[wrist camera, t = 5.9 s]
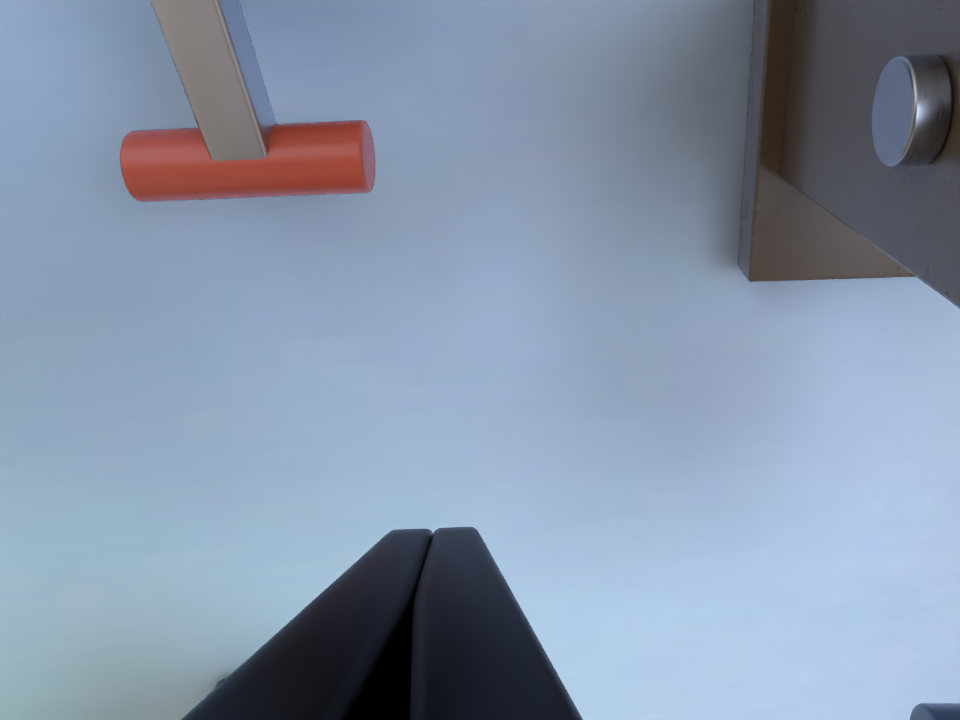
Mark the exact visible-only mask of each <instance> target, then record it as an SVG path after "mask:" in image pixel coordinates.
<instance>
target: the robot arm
mask: <svg viewBox="0 0 960 720" xmlns="http://www.w3.org/2000/svg"><path fill="white" fill-rule="evenodd" d="M181 720H583V719H582V717H581V716H580V714H579V712H578V710H577V708H576V707H575V705H574V703H573V701H572V699H571V698H570V696H569V694H568V692H567V690H566V689H565V687H564V685H563V683H562V681H561V680H560V678H559V676H558V674H557V672H556V671H555V669H554V667H553V665H552V663H551V662H550V660H549V658H548V656H547V654H546V653H545V651H544V649H543V647H542V645H541V644H540V642H539V640H538V638H537V636H536V635H535V633H534V631H533V629H532V627H531V626H530V624H529V622H528V620H527V618H526V617H525V615H524V613H523V611H522V609H521V608H520V606H519V604H518V602H517V600H516V599H515V597H514V595H513V593H512V591H511V590H510V588H509V586H508V584H507V582H506V581H505V579H504V577H503V575H502V574H501V572H500V570H499V568H498V566H497V565H496V563H495V561H494V559H493V557H492V556H491V554H490V552H489V550H488V548H487V547H486V545H485V543H484V541H483V539H482V538H481V536H480V534H479V532H478V531H477V530H476V529H475V528H473V527H454V528H439V529H437V530H436V531H435V532H434V534H433V533H432V531H431V530H429V529H402V530H393V531H391V532H389V533H388V534H387V535H385V536H384V537H383V538H382V539H381V540H380V541H379V542H378V543H377V544H375V545H374V546H373V547H372V548H371V549H370V550H369V551H368V552H367V553H365V554H364V555H363V556H362V557H361V558H360V559H359V560H358V561H357V562H355V563H354V564H353V565H352V566H351V567H350V568H349V569H348V570H347V571H346V572H344V573H343V574H342V575H341V576H340V577H339V578H338V579H337V580H336V581H334V582H333V583H332V584H331V585H330V586H329V587H328V588H327V589H326V590H324V591H323V592H322V593H321V594H320V595H319V596H318V597H317V598H316V599H314V600H313V601H312V602H311V603H310V604H309V605H308V606H307V607H306V608H304V609H303V610H302V611H301V612H300V613H299V614H298V615H297V616H296V617H294V618H293V619H292V620H291V621H290V622H289V623H288V624H287V625H286V626H285V627H283V628H282V629H281V630H280V631H279V632H278V633H277V634H276V635H275V636H273V637H272V638H271V639H270V640H269V641H268V642H267V643H266V644H265V645H263V646H262V647H261V648H260V649H259V650H258V651H257V652H256V653H255V654H253V655H252V656H251V657H250V658H249V659H248V660H247V661H246V662H245V663H243V664H242V665H241V666H240V667H239V668H238V669H237V670H236V671H235V672H233V673H232V674H231V675H230V676H229V677H228V678H227V679H223V680H221V681H220V682H218V684H217V686H216V688H215V690H214V691H212V692H211V693H210V694H209V695H208V696H207V697H206V698H205V699H204V700H202V701H201V702H200V703H199V704H198V705H197V706H196V707H195V708H194V709H192V710H191V711H190V712H189V713H188V714H187V715H186V716H185V717H184V718H182V719H181Z"/></svg>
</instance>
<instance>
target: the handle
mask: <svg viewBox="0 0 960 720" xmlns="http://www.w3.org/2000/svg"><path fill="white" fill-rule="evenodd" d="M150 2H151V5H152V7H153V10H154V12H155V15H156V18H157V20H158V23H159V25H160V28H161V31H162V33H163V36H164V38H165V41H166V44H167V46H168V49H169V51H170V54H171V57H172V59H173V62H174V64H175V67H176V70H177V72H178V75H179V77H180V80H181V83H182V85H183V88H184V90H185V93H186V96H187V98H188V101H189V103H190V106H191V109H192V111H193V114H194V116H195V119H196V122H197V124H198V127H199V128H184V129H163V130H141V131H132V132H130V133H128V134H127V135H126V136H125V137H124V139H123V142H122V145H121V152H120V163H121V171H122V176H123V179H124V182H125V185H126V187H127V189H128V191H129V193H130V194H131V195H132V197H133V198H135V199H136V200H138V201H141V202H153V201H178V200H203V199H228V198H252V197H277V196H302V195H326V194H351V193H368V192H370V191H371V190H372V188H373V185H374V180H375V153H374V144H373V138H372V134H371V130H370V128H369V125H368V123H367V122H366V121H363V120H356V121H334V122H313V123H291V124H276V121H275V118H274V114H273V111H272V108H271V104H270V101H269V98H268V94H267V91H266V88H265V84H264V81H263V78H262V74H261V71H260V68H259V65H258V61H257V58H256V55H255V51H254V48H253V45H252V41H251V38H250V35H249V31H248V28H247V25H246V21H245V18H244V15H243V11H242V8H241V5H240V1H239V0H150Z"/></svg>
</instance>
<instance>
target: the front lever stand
mask: <svg viewBox="0 0 960 720" xmlns="http://www.w3.org/2000/svg"><path fill="white" fill-rule="evenodd" d="M738 267H739V269H740V270H741V271H742V273H743V274H744V275H745V277H746V278H747V279H748V281H750V282H759V281H791V280H822V279H854V278H885V277H918V278H919V279H920V280H922V281H923V282H924V283H926V284H927V285H929V286H930V287H931V288H933V289H934V290H935V291H937V292H938V293H939V294H941V295H942V296H944V297H945V298H946V299H948V300H949V301H950V302H952V303H953V304H954V305H956V306H957V307H959V308H960V0H755V7H754V22H753V37H752V53H751V68H750V84H749V99H748V115H747V130H746V146H745V161H744V177H743V192H742V208H741V223H740V238H739V254H738Z"/></svg>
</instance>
